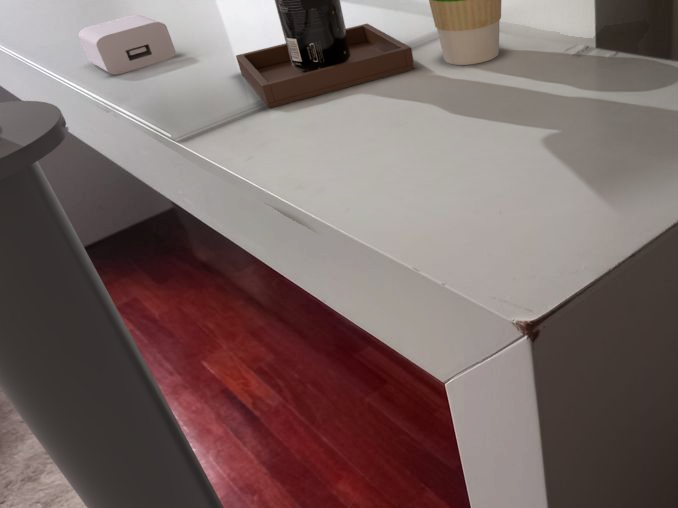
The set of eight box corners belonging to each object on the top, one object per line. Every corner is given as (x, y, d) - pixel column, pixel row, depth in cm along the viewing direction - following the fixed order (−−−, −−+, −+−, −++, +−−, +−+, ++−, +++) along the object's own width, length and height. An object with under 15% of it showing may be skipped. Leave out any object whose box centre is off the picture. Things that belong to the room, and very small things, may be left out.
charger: (142, 41, 103) (177, 57, 93) (79, 59, 99) (110, 77, 89) (128, 7, 100) (164, 19, 90) (63, 24, 96) (93, 38, 86)
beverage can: (331, 55, 83) (305, -60, 75) (364, 63, 78) (340, -58, 71) (282, 72, 79) (250, -46, 72) (314, 81, 75) (284, -43, 68)
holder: (269, 108, 72) (262, 86, 70) (241, 75, 82) (235, 55, 81) (414, 69, 76) (411, 47, 75) (371, 42, 87) (367, 23, 85)
